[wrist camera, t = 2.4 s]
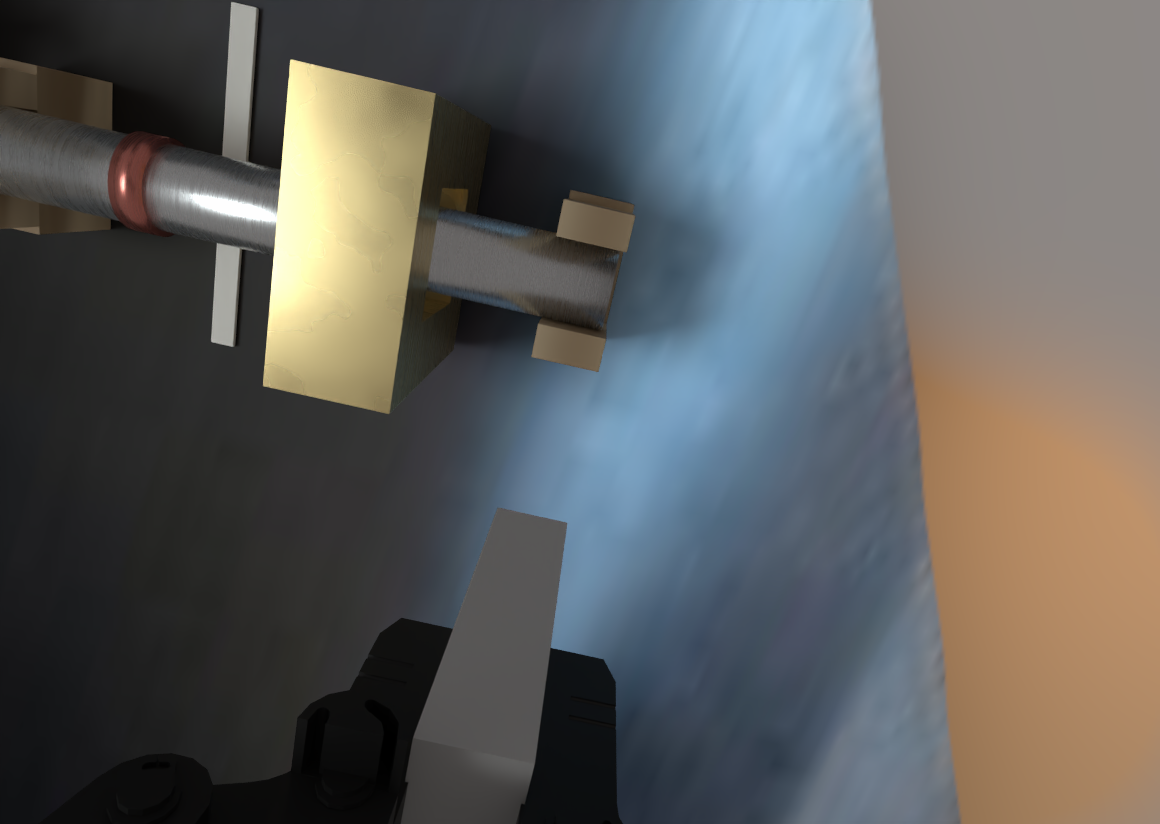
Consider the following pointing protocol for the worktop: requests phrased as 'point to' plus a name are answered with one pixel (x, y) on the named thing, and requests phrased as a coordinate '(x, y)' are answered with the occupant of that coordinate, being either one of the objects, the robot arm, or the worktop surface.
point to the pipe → (250, 206)
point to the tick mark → (236, 148)
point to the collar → (365, 236)
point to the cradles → (93, 107)
